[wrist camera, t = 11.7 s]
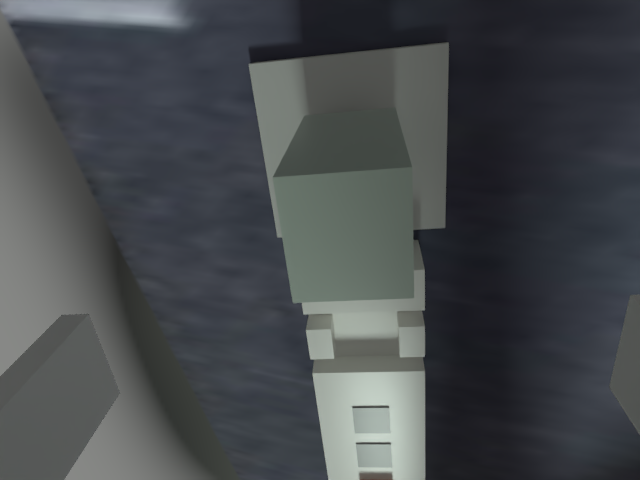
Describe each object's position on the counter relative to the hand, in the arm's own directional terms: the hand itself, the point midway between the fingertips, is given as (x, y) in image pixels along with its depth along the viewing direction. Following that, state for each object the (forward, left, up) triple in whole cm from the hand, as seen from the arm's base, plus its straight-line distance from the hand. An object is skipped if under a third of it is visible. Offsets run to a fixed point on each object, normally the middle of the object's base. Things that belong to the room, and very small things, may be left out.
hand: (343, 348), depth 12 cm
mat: (0, 0, -16) cm, 16 cm away
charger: (0, 0, -16) cm, 16 cm away
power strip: (-16, 0, -16) cm, 23 cm away
